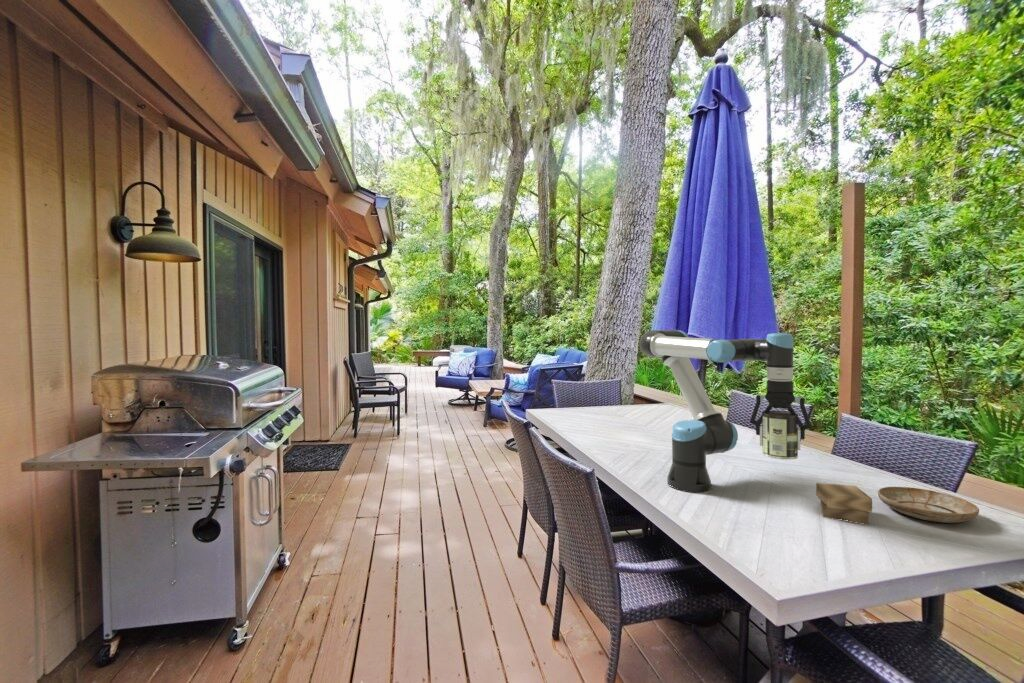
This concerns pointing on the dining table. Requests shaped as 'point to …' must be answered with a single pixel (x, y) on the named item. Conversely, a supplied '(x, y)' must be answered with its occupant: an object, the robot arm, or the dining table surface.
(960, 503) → the wooden bowl
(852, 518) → the lower block
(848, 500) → the top block
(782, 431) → the coffee can
